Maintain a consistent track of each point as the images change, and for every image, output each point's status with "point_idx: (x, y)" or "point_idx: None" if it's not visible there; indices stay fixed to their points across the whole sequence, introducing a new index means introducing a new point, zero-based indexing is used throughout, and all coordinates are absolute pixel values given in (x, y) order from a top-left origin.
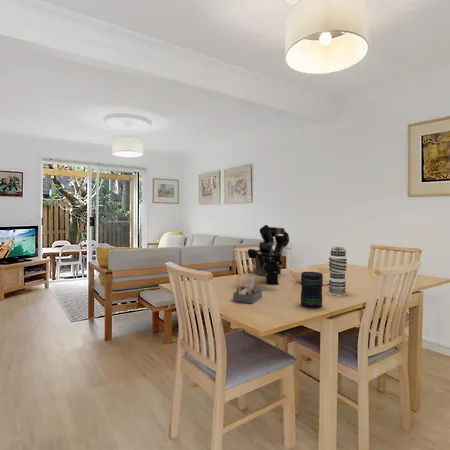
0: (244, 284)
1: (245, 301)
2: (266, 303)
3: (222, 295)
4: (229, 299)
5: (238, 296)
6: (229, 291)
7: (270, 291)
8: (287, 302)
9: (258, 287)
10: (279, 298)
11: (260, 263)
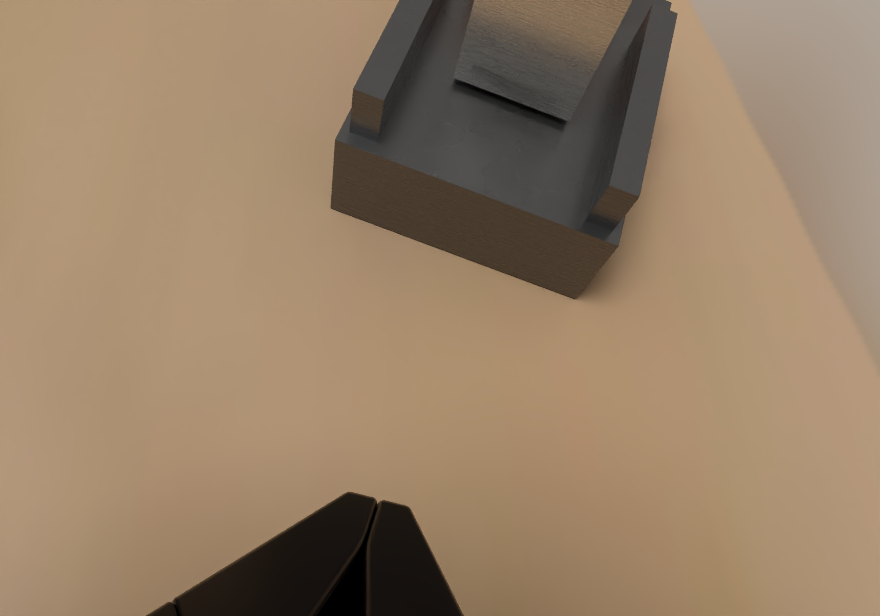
0: (620, 159)
1: None
2: (289, 10)
3: (805, 267)
4: (682, 128)
5: None
6: (803, 474)
7: (146, 585)
8: (25, 33)
9: (394, 10)
10: (85, 179)
11: (431, 603)
